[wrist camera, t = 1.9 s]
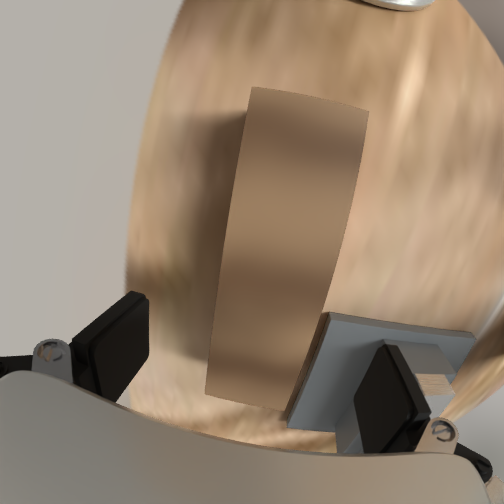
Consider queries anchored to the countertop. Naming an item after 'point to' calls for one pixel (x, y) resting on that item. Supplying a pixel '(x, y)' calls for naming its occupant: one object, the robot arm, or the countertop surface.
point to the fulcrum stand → (357, 363)
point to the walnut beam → (281, 241)
